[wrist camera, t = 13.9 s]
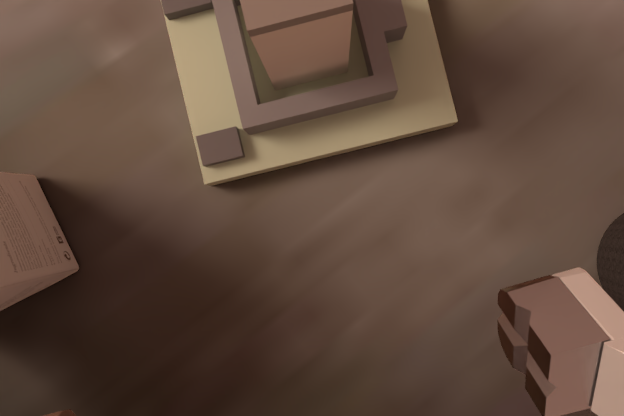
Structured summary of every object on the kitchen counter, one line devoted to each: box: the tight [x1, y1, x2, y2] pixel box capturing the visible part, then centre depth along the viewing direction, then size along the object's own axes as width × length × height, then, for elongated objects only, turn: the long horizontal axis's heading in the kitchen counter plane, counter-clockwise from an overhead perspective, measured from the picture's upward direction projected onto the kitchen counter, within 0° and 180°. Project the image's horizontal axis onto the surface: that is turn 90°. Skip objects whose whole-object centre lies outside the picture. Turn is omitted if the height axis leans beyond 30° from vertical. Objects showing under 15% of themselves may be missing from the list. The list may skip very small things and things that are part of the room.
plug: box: [240, 0, 353, 90], centre depth 24 cm, size 4×4×9 cm
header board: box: [161, 0, 458, 186], centre depth 28 cm, size 14×12×4 cm
